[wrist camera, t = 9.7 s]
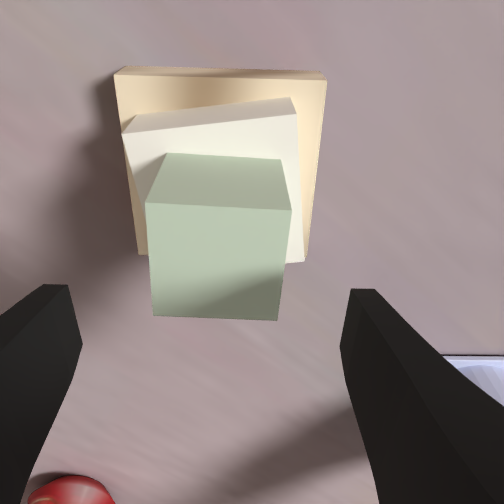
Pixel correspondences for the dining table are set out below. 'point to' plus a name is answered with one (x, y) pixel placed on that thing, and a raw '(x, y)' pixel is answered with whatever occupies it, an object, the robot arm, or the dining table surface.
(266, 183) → the sage block
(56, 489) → the liquor
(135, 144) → the off-white top slab
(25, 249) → the dining table surface
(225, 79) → the birch base slab
